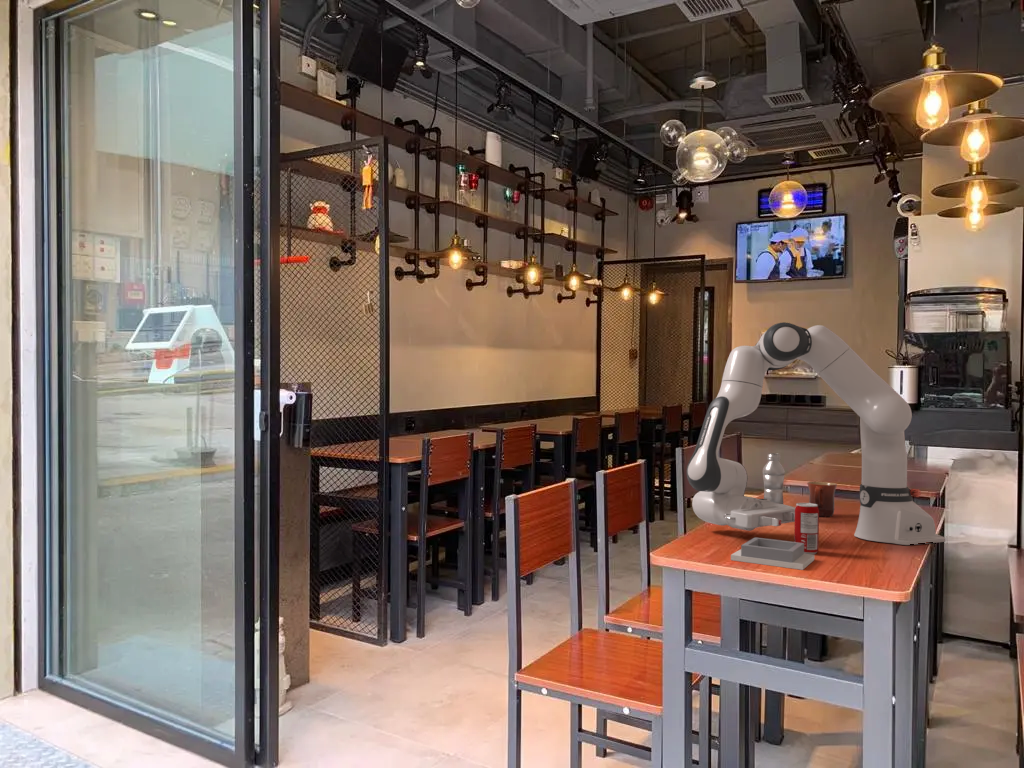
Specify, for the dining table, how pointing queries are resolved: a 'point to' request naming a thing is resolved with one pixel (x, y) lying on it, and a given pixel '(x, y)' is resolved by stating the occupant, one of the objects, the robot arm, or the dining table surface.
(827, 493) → the mug
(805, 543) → the soda can
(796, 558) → the caddy
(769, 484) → the plastic bottle
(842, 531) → the dining table surface
